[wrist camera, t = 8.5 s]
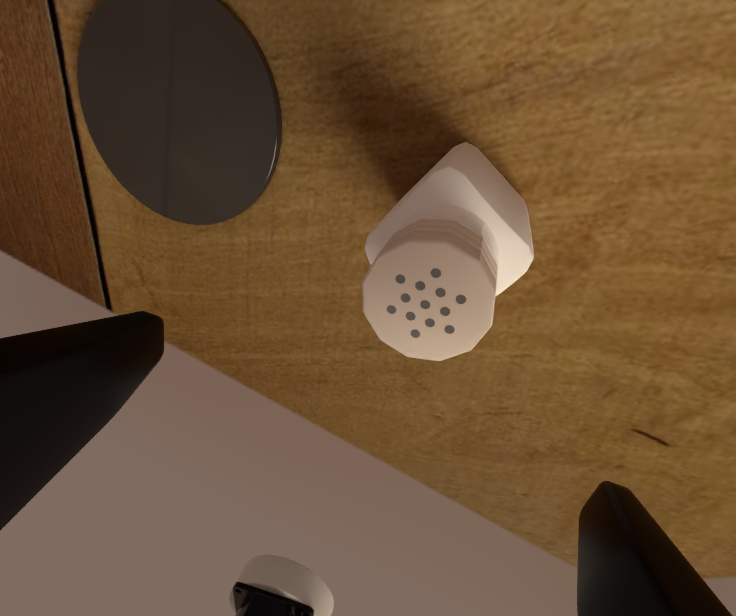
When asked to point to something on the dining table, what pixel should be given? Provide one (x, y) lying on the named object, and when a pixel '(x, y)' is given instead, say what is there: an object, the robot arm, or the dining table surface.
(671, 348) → the dining table surface
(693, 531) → the dining table surface
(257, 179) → the coaster
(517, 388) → the dining table surface
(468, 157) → the salt shaker
